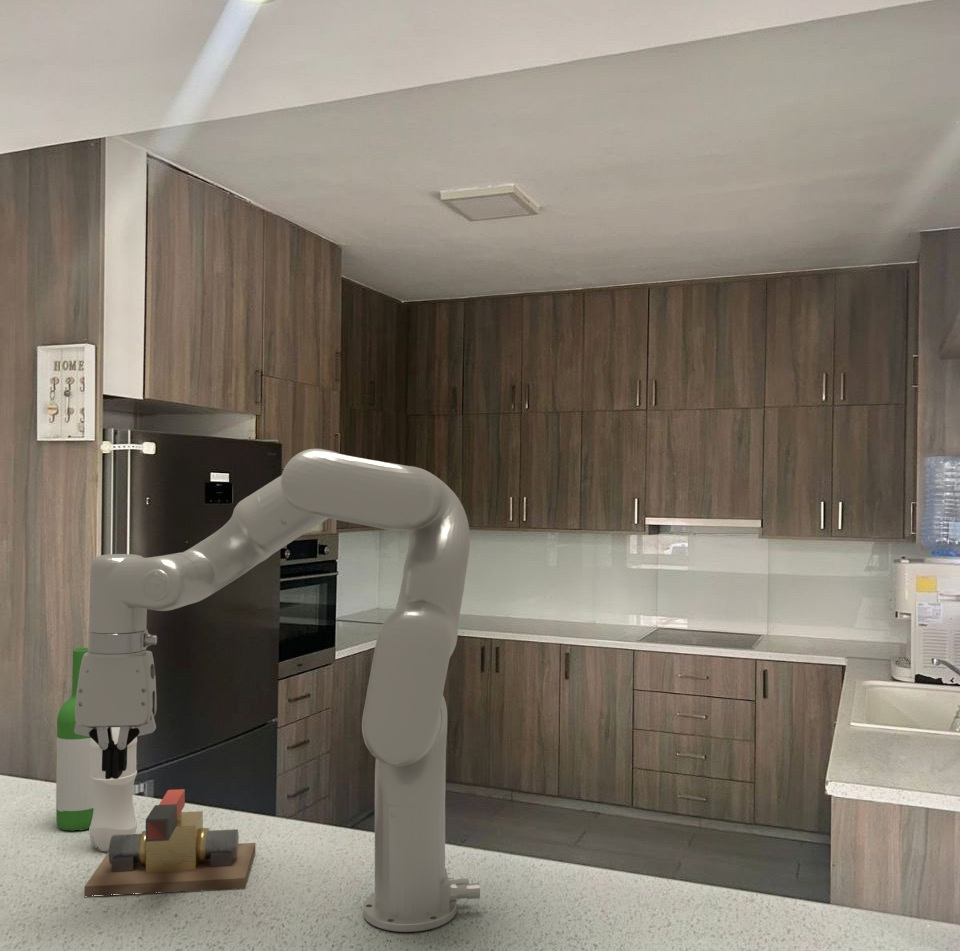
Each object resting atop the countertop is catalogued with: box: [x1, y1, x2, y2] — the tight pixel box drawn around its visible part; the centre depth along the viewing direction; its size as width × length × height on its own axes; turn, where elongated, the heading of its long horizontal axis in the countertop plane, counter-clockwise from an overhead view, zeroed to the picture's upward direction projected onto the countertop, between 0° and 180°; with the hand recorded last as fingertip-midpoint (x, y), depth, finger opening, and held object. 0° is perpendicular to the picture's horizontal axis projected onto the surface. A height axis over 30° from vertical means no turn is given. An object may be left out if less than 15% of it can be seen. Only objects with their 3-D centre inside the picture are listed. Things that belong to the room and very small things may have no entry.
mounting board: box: [84, 842, 256, 898], centre depth 142 cm, size 22×14×2 cm, turn 97°
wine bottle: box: [55, 647, 94, 832], centre depth 163 cm, size 8×8×30 cm
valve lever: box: [145, 788, 186, 842], centre depth 136 cm, size 3×14×4 cm, turn 7°
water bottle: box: [88, 727, 138, 852], centre depth 154 cm, size 7×7×25 cm
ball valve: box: [108, 810, 240, 873], centre depth 142 cm, size 18×6×6 cm, turn 97°
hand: (114, 775), depth 132 cm, fingers closed
